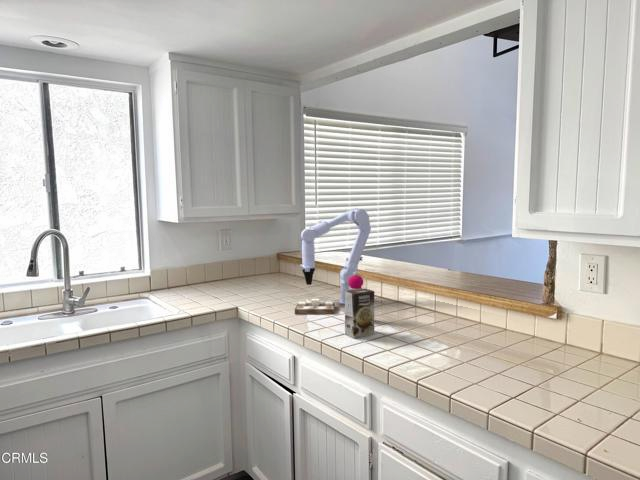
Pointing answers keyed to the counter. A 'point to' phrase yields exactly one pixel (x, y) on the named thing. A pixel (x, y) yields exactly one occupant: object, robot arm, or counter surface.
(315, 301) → the middle button
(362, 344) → the counter surface
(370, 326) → the coffee box
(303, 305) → the button
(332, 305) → the button
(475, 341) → the counter surface
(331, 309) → the button board
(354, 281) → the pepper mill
